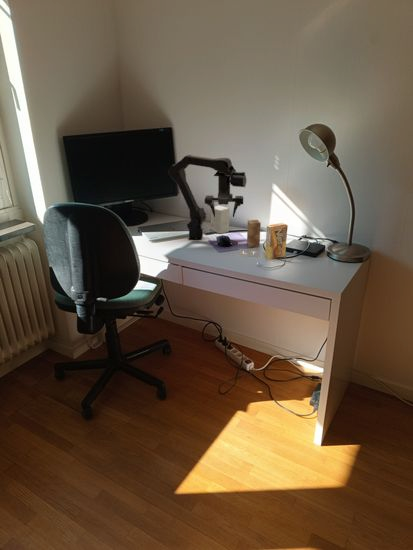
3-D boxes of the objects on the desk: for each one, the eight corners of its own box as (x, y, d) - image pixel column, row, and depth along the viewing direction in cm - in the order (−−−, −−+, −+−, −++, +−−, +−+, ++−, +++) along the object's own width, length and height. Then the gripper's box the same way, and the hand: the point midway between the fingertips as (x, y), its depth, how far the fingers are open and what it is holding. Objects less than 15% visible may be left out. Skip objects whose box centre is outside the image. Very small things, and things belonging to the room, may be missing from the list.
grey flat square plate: (238, 257, 194) (238, 256, 193) (238, 249, 203) (238, 248, 202) (260, 257, 193) (260, 257, 192) (259, 249, 202) (259, 249, 201)
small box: (229, 231, 226) (229, 208, 220) (220, 234, 222) (220, 210, 217) (219, 227, 232) (219, 205, 226) (210, 230, 228) (210, 207, 222)
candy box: (280, 253, 197) (282, 222, 191) (285, 256, 194) (288, 225, 187) (264, 256, 194) (266, 225, 187) (269, 259, 190) (271, 227, 184)
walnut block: (249, 248, 204) (250, 223, 198) (246, 244, 208) (247, 220, 203) (259, 247, 205) (260, 222, 199) (256, 243, 209) (257, 219, 204)
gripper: (203, 189, 194) (203, 221, 200) (243, 189, 192) (242, 222, 199) (205, 183, 204) (205, 214, 210) (243, 184, 202) (242, 215, 209)
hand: (224, 216), depth 207 cm, fingers open, 9 cm apart
